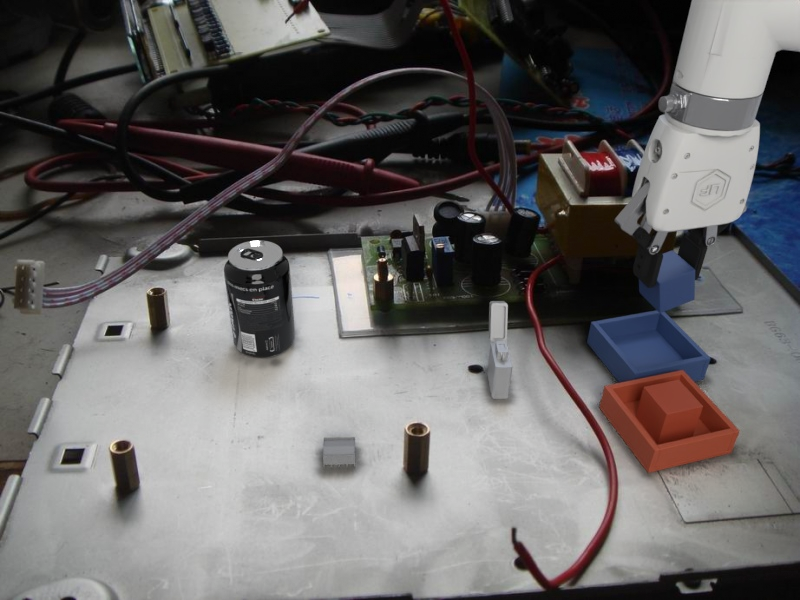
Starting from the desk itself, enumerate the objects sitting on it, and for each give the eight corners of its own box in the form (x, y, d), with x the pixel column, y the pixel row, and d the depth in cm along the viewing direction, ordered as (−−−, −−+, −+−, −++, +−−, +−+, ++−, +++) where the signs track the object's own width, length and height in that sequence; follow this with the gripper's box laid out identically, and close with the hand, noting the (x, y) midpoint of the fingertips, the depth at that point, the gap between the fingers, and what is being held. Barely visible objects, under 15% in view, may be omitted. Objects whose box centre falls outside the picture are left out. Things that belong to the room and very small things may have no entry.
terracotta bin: (676, 391, 79) (683, 369, 78) (731, 453, 72) (740, 431, 71) (599, 407, 77) (604, 385, 75) (647, 473, 70) (654, 450, 68)
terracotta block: (669, 408, 76) (678, 379, 74) (693, 436, 73) (703, 406, 71) (635, 416, 75) (643, 386, 73) (657, 444, 72) (666, 414, 70)
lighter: (508, 398, 78) (516, 338, 73) (491, 398, 78) (499, 338, 73) (499, 355, 84) (506, 296, 79) (483, 355, 84) (489, 296, 79)
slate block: (672, 279, 80) (672, 249, 78) (694, 300, 77) (695, 269, 75) (638, 292, 80) (638, 262, 77) (660, 313, 77) (659, 283, 74)
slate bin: (656, 329, 88) (662, 309, 86) (704, 379, 81) (711, 358, 79) (586, 342, 86) (591, 321, 84) (629, 395, 79) (634, 373, 77)
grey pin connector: (323, 470, 70) (322, 455, 68) (324, 452, 71) (323, 437, 70) (355, 469, 70) (355, 454, 69) (355, 451, 72) (355, 437, 70)
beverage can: (257, 320, 88) (247, 231, 81) (307, 336, 86) (301, 246, 79) (222, 353, 83) (207, 261, 76) (273, 371, 81) (264, 278, 74)
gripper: (652, 129, 61) (610, 310, 72) (820, 112, 66) (757, 285, 76) (606, 97, 67) (573, 269, 78) (762, 83, 72) (711, 248, 82)
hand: (665, 275), depth 77 cm, fingers closed on slate block, 4 cm apart
